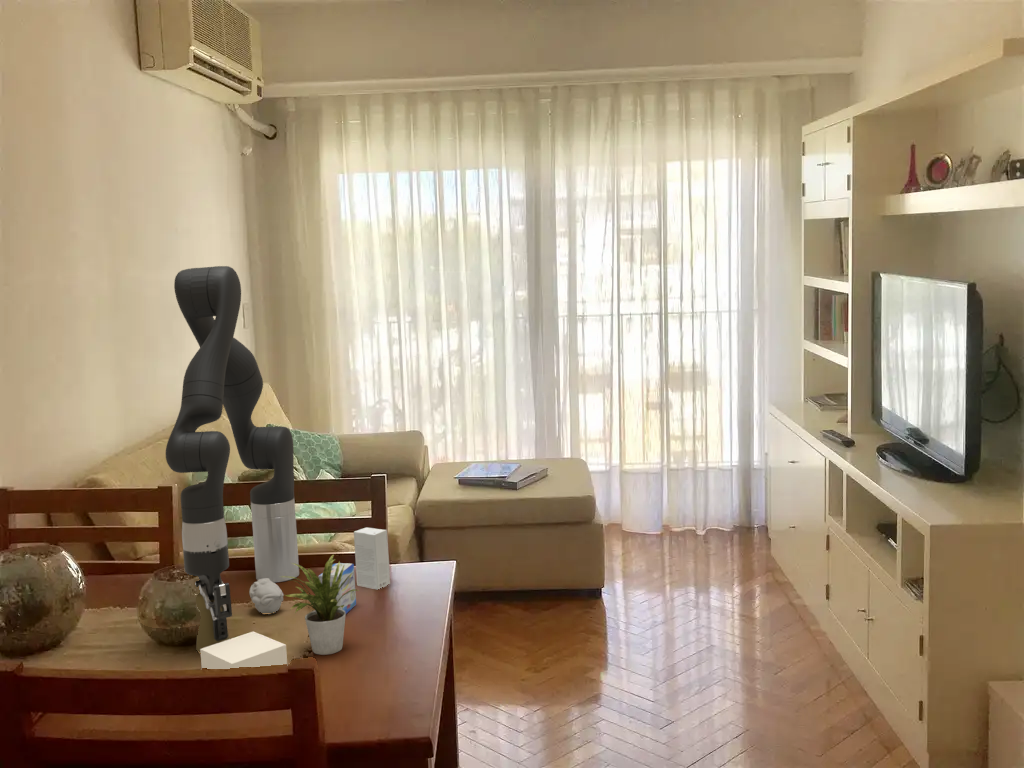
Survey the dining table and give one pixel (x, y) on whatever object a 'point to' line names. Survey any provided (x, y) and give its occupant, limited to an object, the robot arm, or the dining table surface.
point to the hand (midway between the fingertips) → (212, 632)
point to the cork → (205, 626)
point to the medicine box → (344, 586)
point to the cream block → (244, 652)
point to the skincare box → (372, 558)
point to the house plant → (323, 609)
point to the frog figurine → (266, 596)
